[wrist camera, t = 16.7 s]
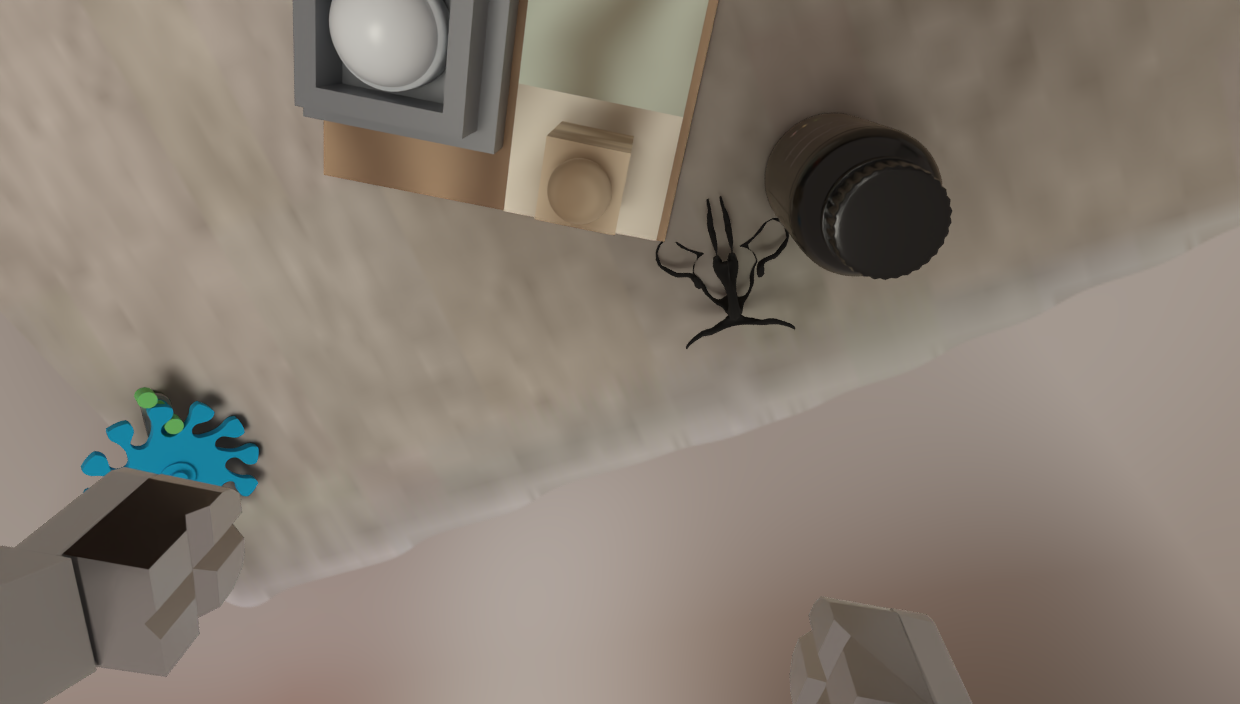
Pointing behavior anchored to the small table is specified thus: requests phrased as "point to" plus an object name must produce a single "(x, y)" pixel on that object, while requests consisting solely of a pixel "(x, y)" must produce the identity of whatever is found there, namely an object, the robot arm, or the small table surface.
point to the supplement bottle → (858, 196)
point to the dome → (391, 40)
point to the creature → (729, 278)
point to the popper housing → (438, 112)
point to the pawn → (583, 177)
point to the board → (564, 109)
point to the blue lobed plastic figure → (178, 445)
